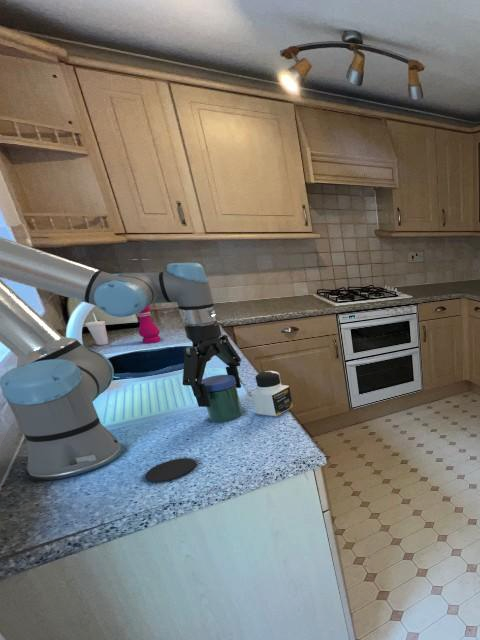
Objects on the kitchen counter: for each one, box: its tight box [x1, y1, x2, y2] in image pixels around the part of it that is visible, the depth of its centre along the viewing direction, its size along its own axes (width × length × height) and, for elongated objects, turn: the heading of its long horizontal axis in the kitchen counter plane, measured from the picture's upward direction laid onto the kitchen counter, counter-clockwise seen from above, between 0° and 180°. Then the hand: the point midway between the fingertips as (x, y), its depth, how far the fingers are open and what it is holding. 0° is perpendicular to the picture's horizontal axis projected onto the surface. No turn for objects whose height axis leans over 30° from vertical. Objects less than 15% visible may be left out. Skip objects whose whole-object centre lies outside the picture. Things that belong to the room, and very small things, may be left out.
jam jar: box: [205, 385, 244, 423], centre depth 116 cm, size 8×8×10 cm
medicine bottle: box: [250, 370, 294, 417], centre depth 119 cm, size 7×7×12 cm
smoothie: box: [84, 312, 109, 346], centre depth 178 cm, size 6×6×14 cm
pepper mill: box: [135, 304, 162, 344], centre depth 182 cm, size 7×7×20 cm
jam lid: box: [201, 374, 236, 392], centre depth 114 cm, size 9×8×2 cm
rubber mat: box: [144, 457, 197, 484], centre depth 92 cm, size 9×9×1 cm
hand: (221, 396), depth 115 cm, fingers open, 13 cm apart
